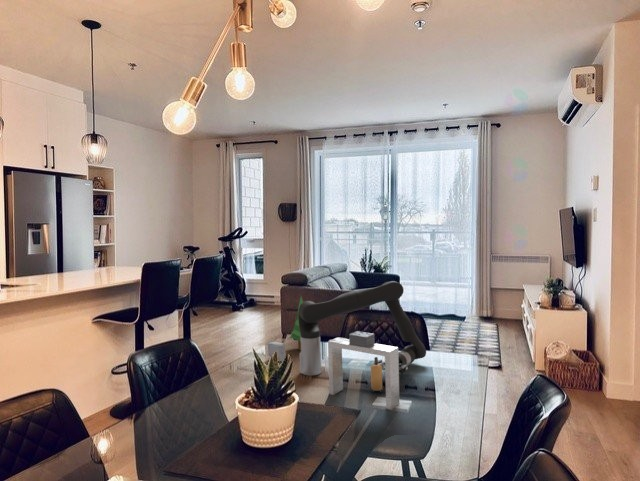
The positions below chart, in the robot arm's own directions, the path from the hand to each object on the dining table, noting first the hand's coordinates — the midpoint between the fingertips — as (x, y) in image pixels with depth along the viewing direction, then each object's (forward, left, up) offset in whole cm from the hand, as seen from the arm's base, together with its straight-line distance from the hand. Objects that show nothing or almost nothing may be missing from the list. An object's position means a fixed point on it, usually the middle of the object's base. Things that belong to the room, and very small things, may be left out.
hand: (382, 371), depth 193 cm
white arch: (-3, -16, -6) cm, 18 cm away
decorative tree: (-58, +35, -6) cm, 68 cm away
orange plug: (-1, -6, -6) cm, 8 cm away
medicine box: (-61, +13, -6) cm, 62 cm away
